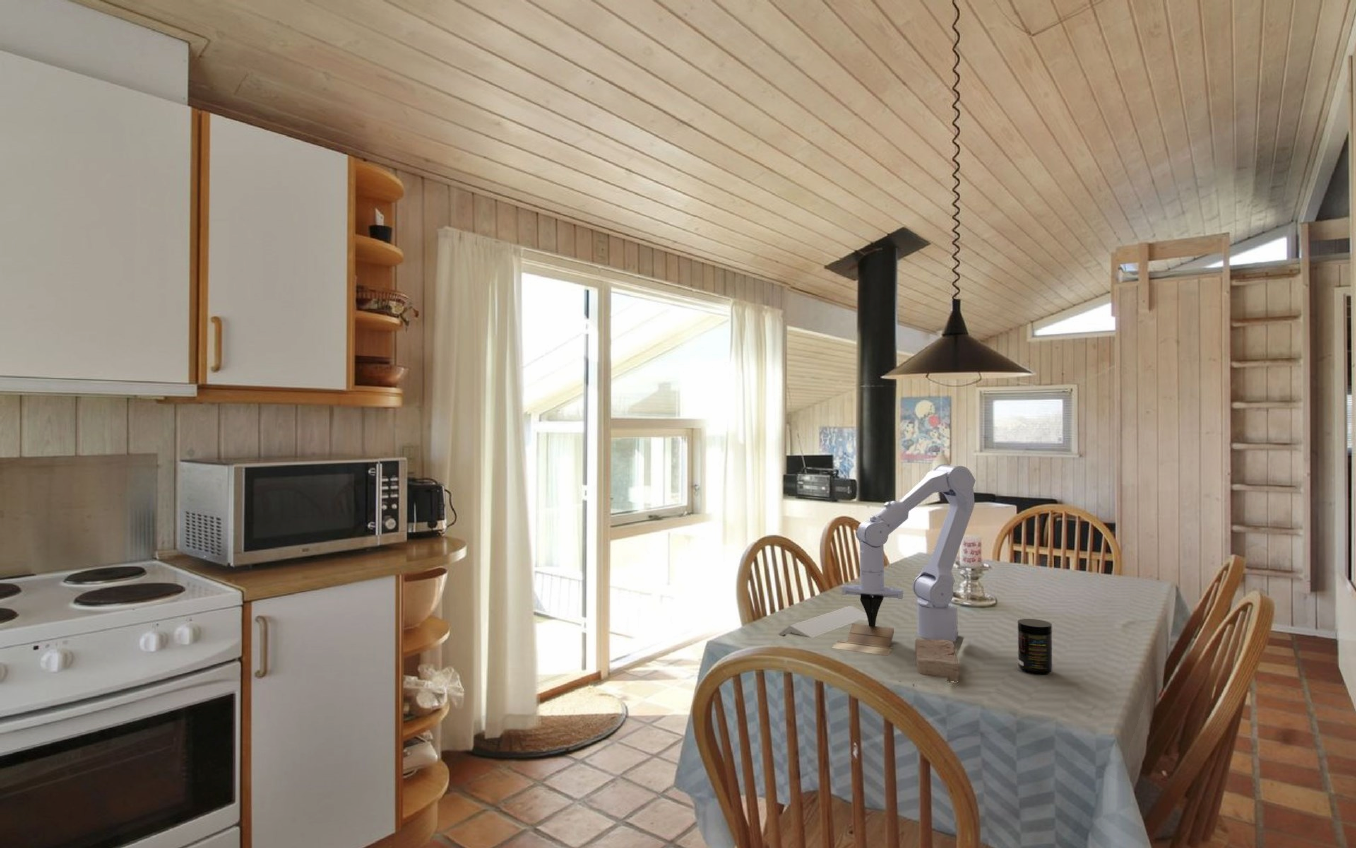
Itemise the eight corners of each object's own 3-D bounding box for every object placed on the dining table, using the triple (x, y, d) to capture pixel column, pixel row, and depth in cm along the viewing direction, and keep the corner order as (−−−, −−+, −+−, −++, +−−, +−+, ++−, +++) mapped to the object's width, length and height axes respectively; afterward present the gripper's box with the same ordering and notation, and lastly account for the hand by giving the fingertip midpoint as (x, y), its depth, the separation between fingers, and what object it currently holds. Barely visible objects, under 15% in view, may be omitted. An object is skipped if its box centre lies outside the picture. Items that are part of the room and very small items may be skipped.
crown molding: (817, 646, 178) (817, 631, 178) (777, 636, 186) (777, 622, 186) (876, 623, 198) (876, 610, 198) (837, 615, 207) (837, 603, 207)
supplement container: (1059, 675, 154) (1058, 626, 154) (1029, 676, 153) (1028, 627, 154) (1040, 665, 161) (1040, 618, 161) (1011, 666, 160) (1011, 619, 160)
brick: (960, 684, 150) (959, 661, 150) (917, 680, 152) (917, 658, 152) (953, 660, 166) (953, 640, 166) (914, 657, 168) (914, 637, 168)
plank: (893, 632, 176) (893, 628, 176) (889, 651, 171) (888, 647, 170) (853, 627, 181) (852, 623, 180) (846, 646, 175) (846, 641, 175)
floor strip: (892, 653, 170) (892, 647, 170) (887, 660, 164) (887, 654, 164) (838, 646, 175) (837, 640, 175) (831, 653, 170) (831, 647, 170)
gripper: (903, 569, 179) (904, 624, 179) (844, 565, 184) (844, 618, 184) (901, 574, 172) (902, 631, 172) (840, 570, 178) (840, 625, 177)
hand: (872, 625), depth 178 cm, fingers closed
